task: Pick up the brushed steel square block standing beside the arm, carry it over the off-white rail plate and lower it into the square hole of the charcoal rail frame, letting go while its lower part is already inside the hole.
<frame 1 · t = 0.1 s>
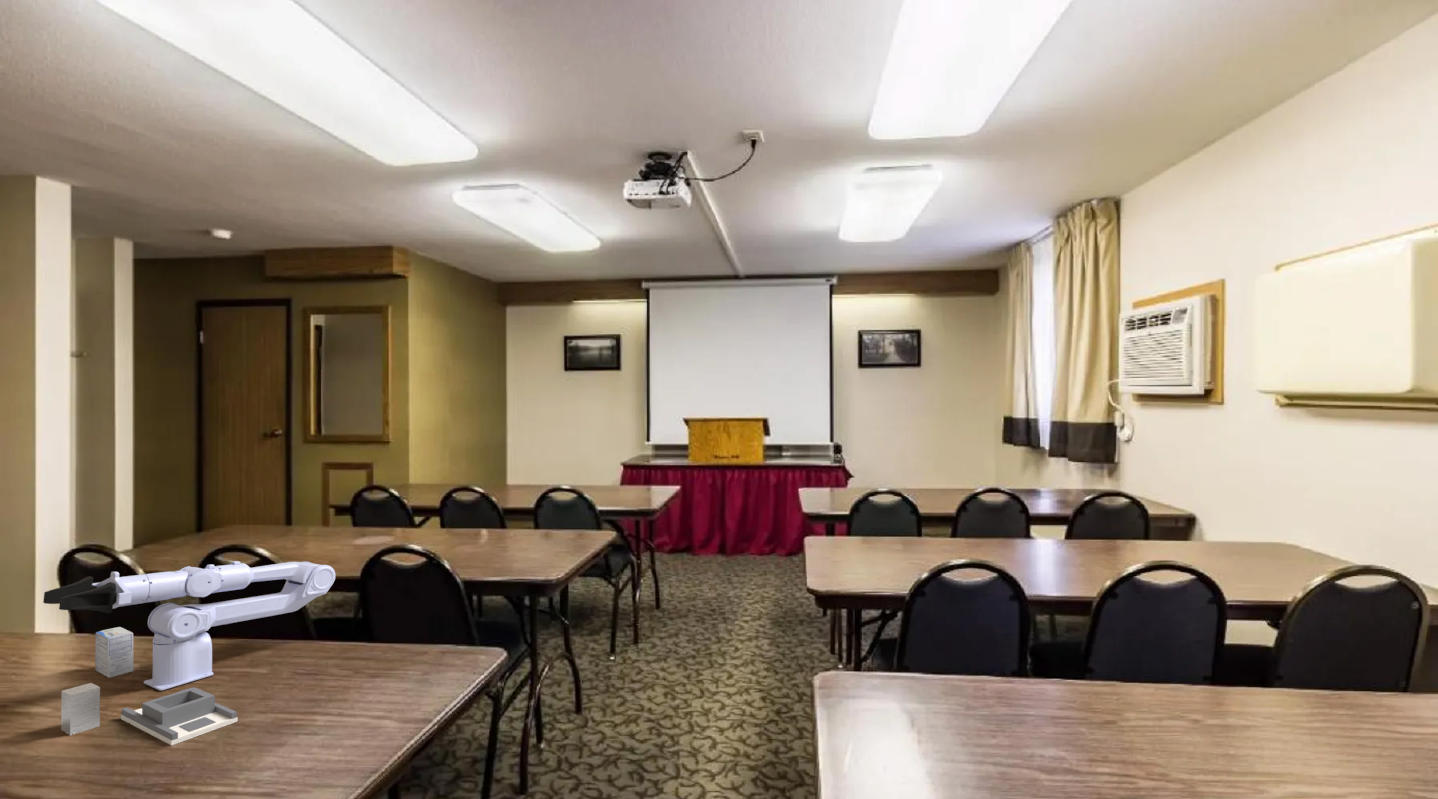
hand: (52, 600, 124), 22 cm above the table, tool horizontal, fingers open, 7 cm apart
medicine box: (114, 672, 146), on the table
steel square block: (80, 728, 120), on the table
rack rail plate: (178, 720, 123), on the table
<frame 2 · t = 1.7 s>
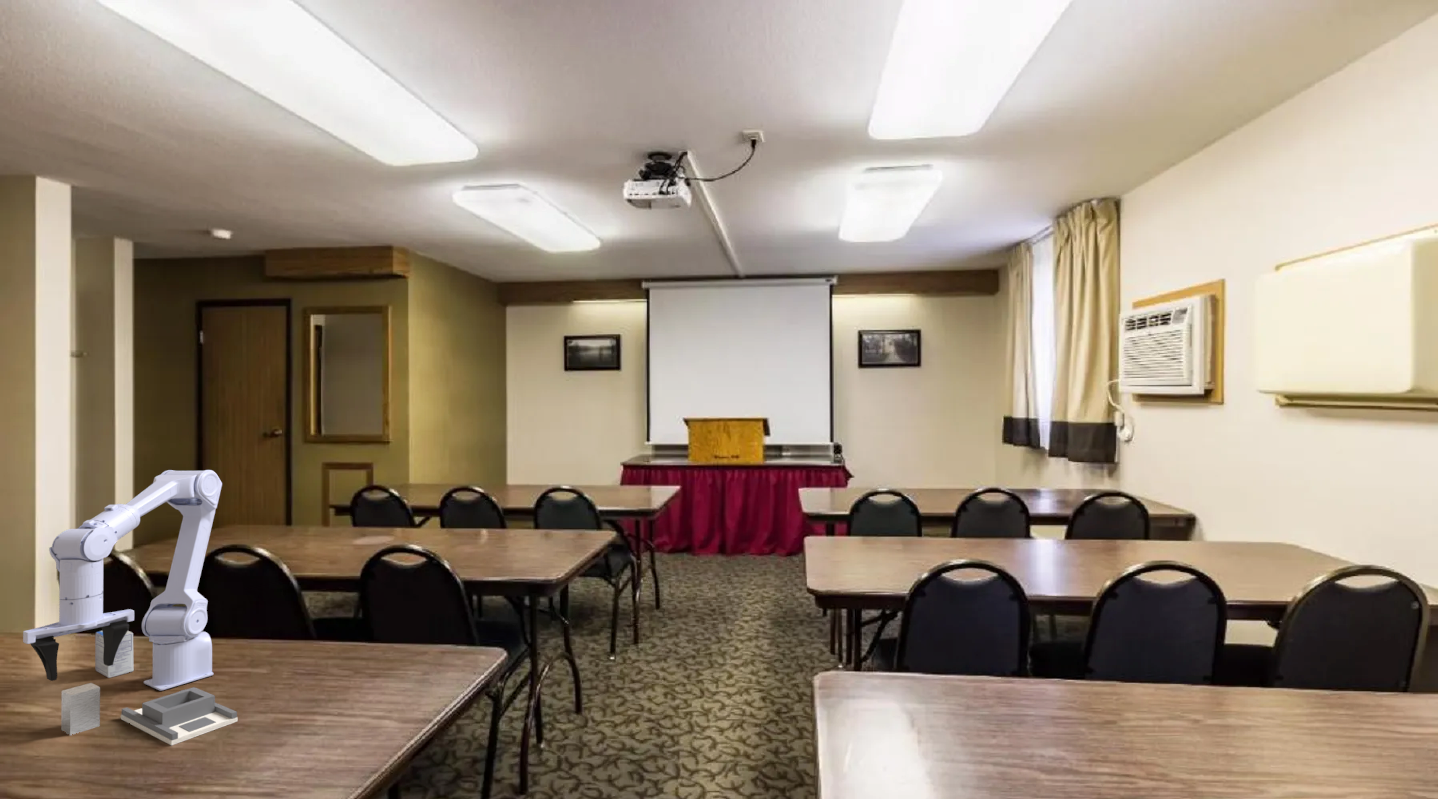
hand: (80, 671, 120), 10 cm above the table, tool pointing down, fingers open, 7 cm apart
nothing on the table moved.
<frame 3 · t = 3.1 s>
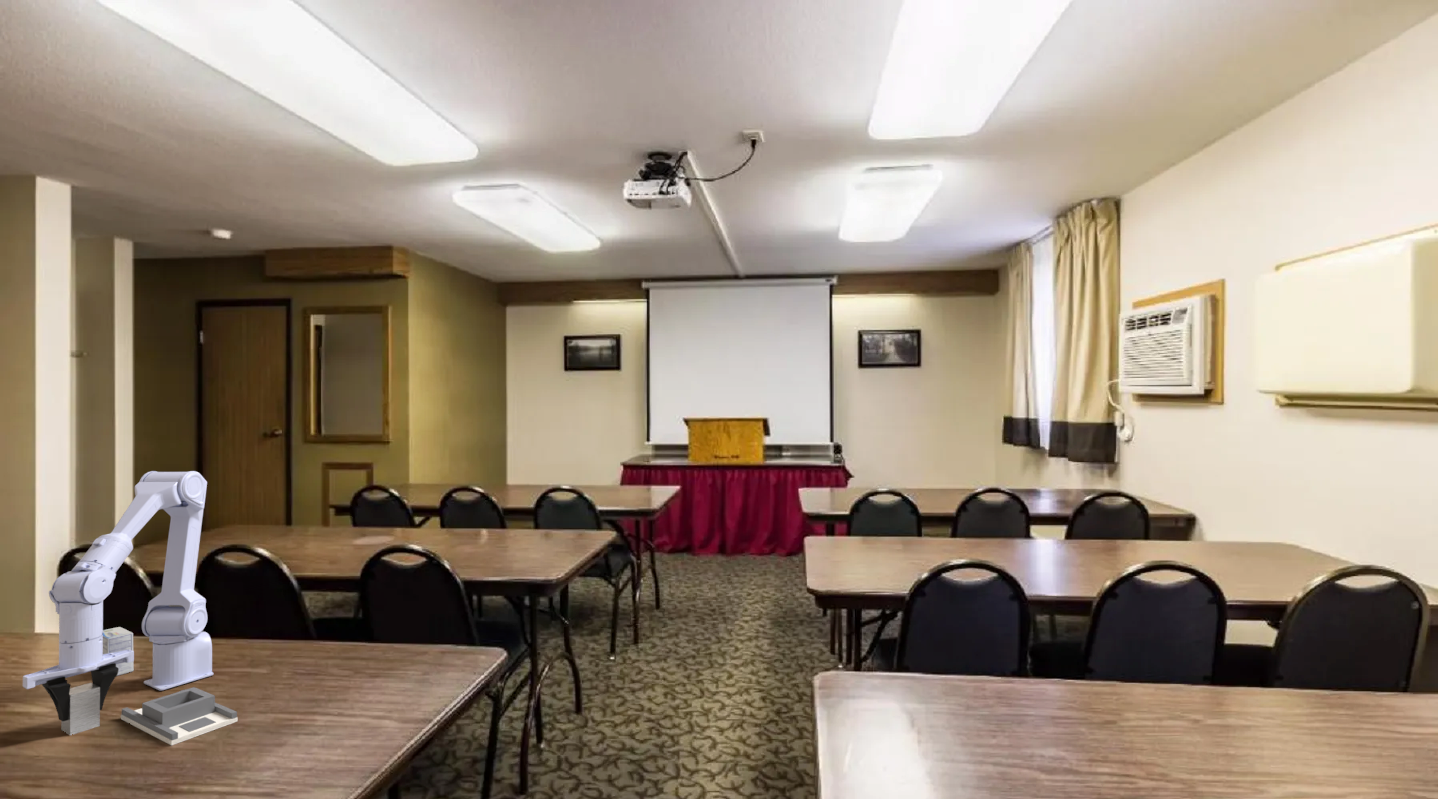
hand: (80, 714, 120), 2 cm above the table, tool pointing down, fingers closed on steel square block, 4 cm apart
steel square block: (80, 728, 120), on the table, touching gripper
everything else where it was.
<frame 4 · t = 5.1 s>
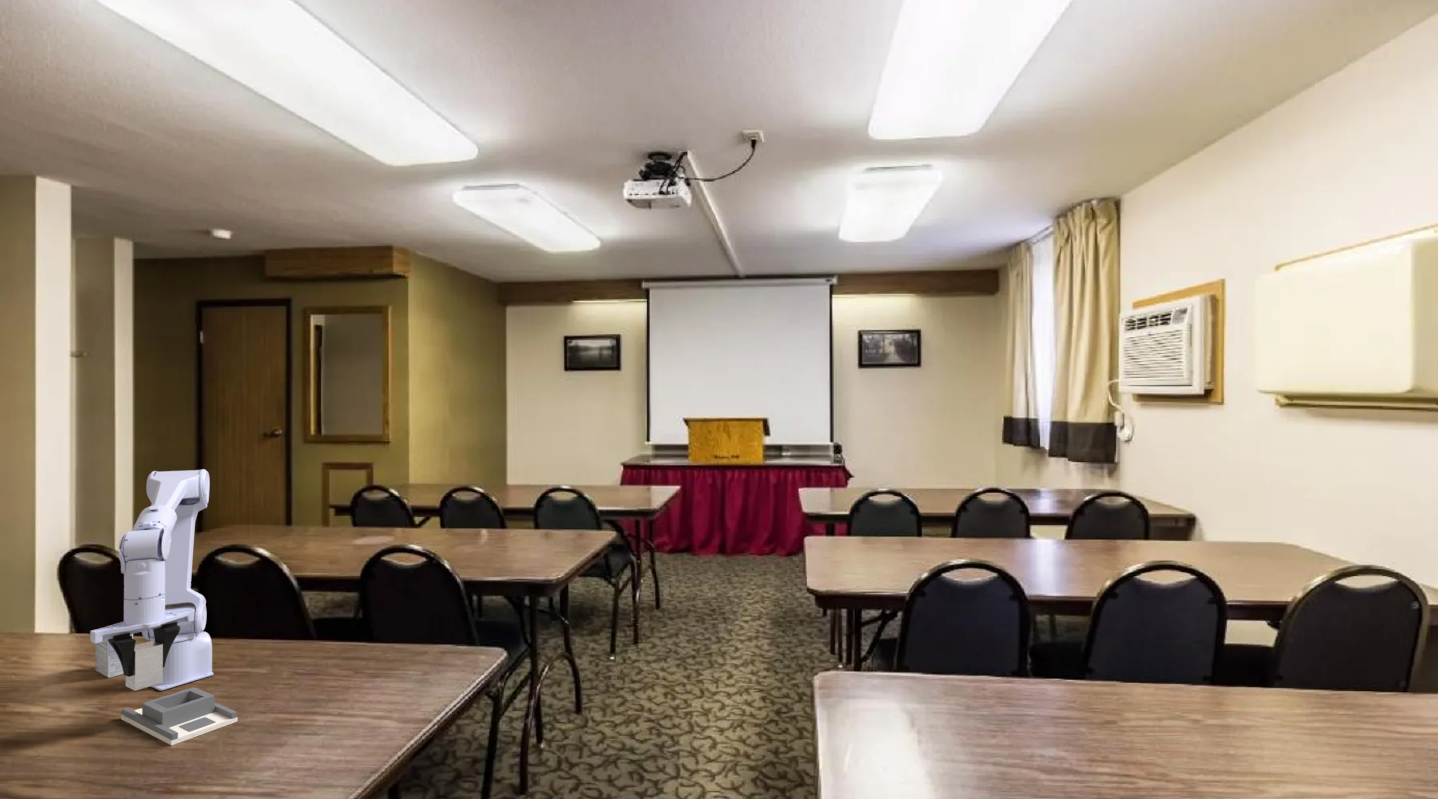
hand: (144, 670, 122), 9 cm above the table, tool pointing down, fingers closed on steel square block, 4 cm apart
steel square block: (144, 684, 122), point 7 cm above the table, touching gripper
everything else where it was.
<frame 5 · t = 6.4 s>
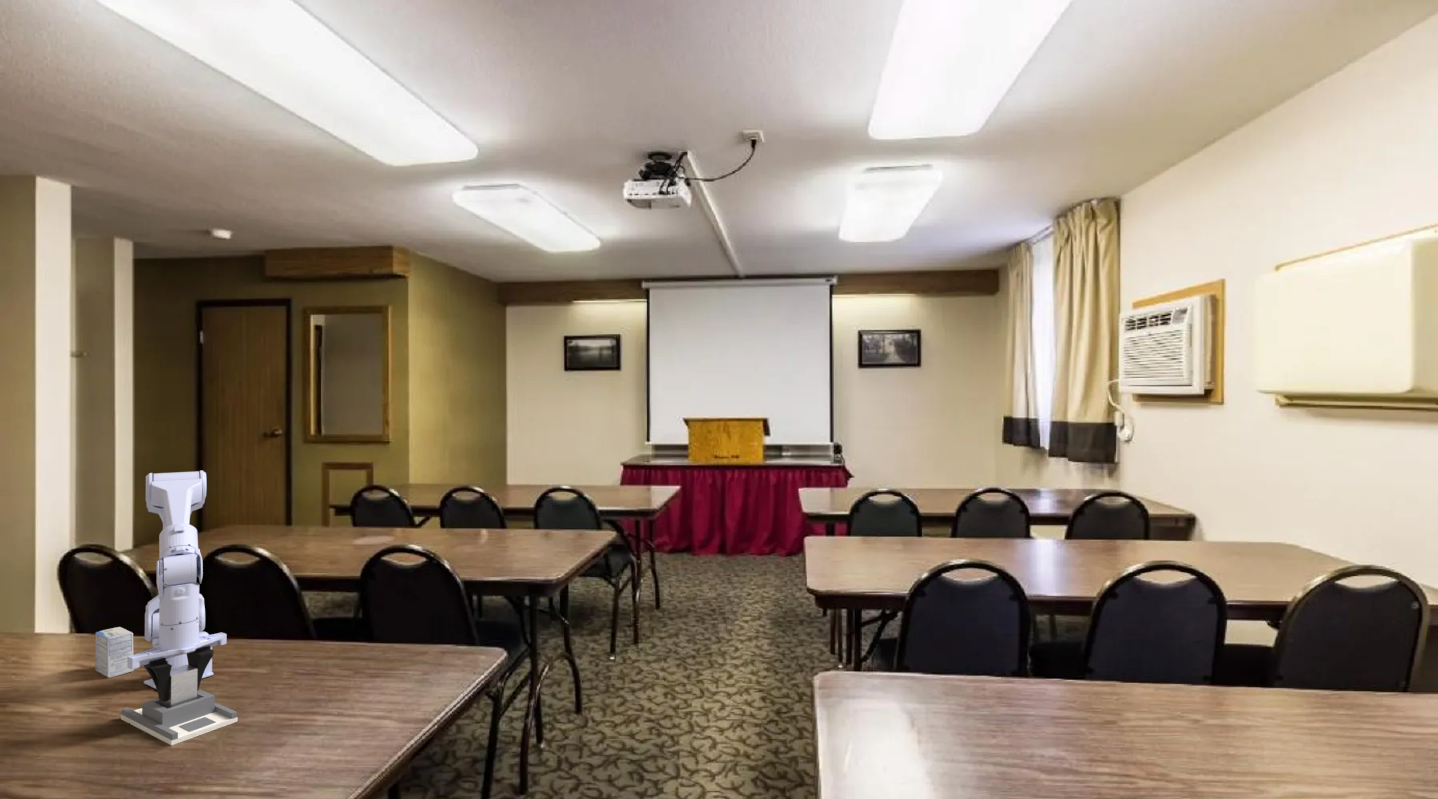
hand: (179, 695, 123), 5 cm above the table, tool pointing down, fingers closed on steel square block, 4 cm apart
steel square block: (179, 708, 123), point 2 cm above the table, touching gripper
everything else where it was.
when the fingers open (4 cm above the table, at t = 7.2 s): steel square block drops 1 cm, resting on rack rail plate.
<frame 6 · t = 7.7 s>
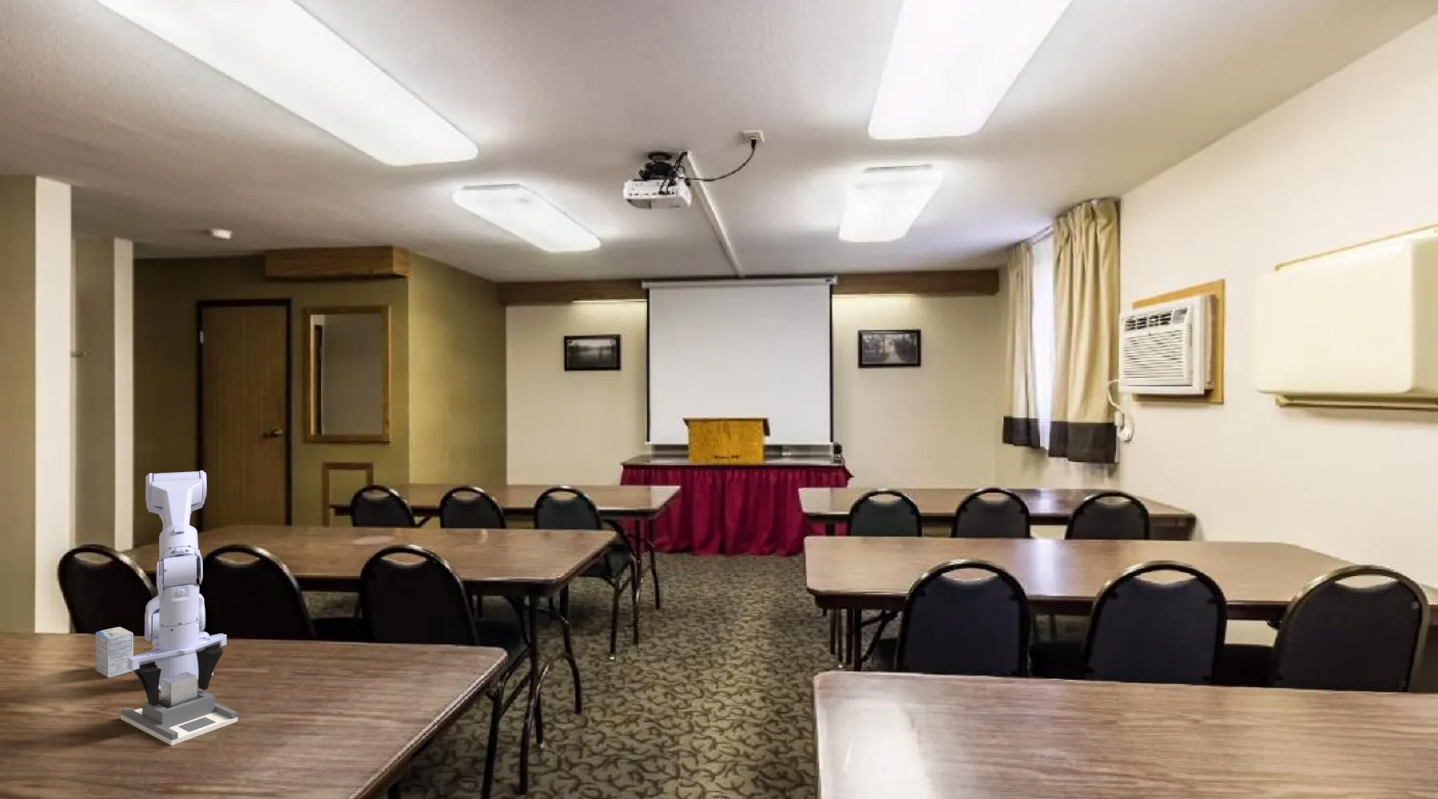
hand: (179, 696, 123), 4 cm above the table, tool pointing down, fingers open, 7 cm apart
steel square block: (179, 715, 123), point 1 cm above the table, touching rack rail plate
everything else where it was.
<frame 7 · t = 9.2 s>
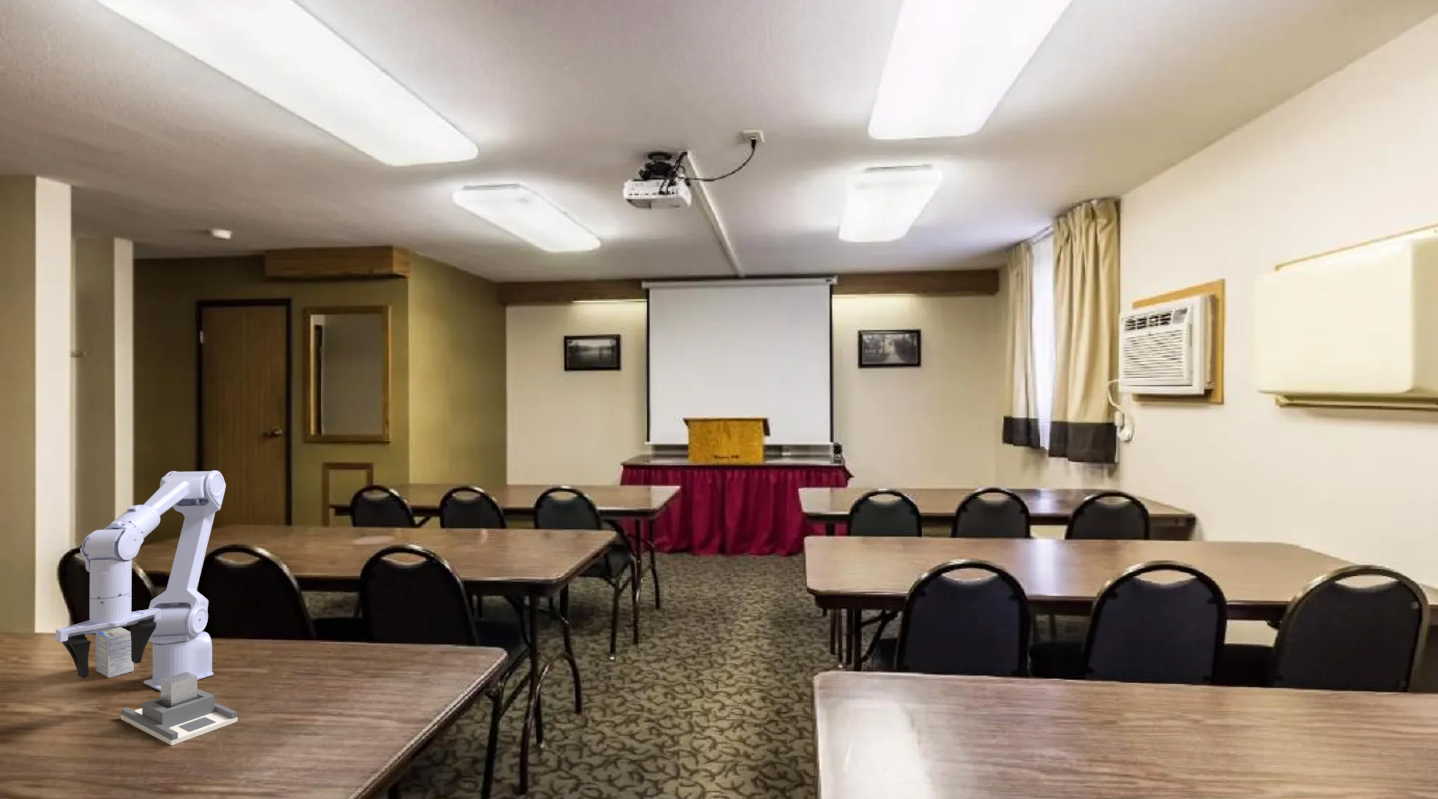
hand: (110, 669, 123), 9 cm above the table, tool pointing down, fingers open, 7 cm apart
nothing on the table moved.
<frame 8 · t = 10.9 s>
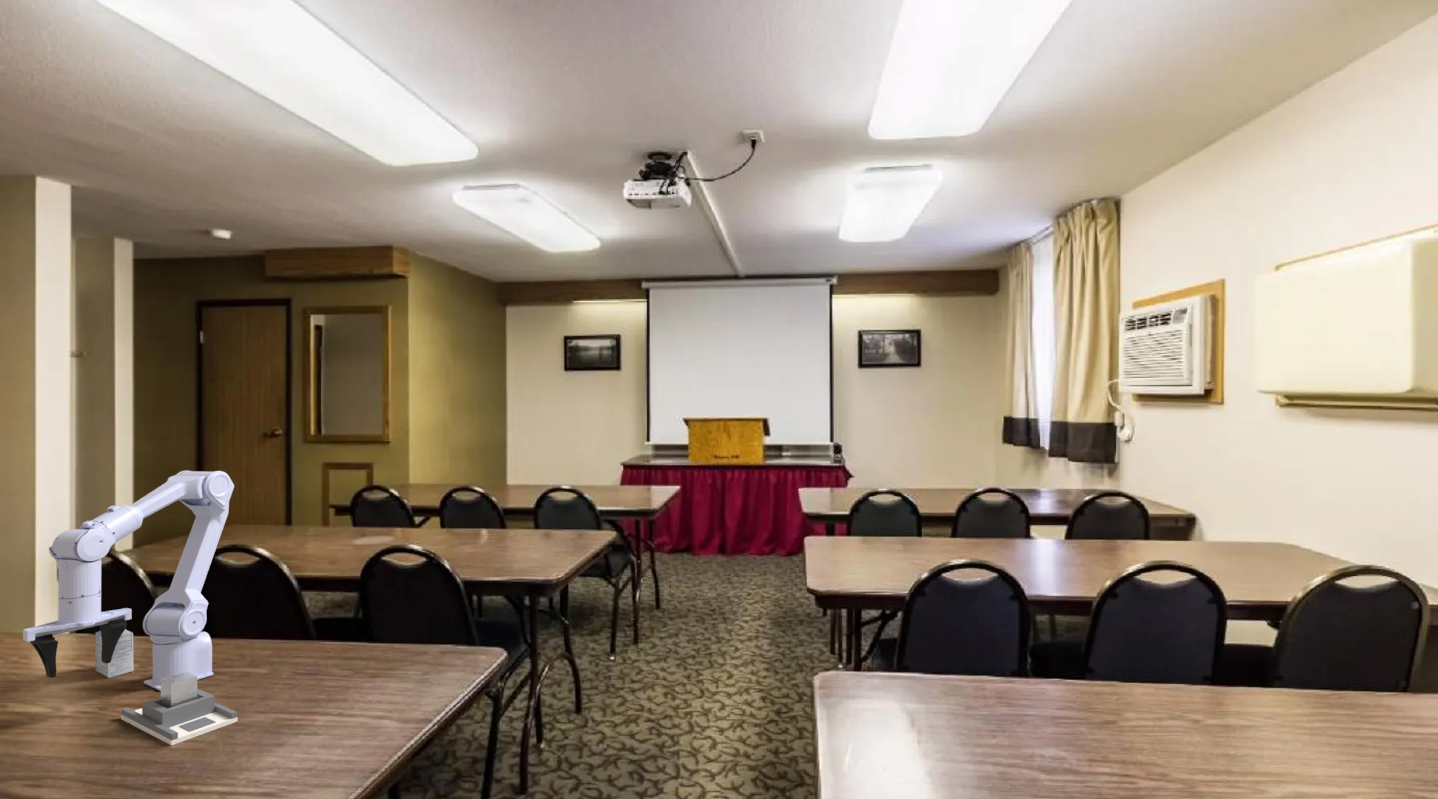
hand: (79, 669, 123), 9 cm above the table, tool pointing down, fingers open, 7 cm apart
nothing on the table moved.
at the end: steel square block 0.0 cm off-centre on the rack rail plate, point 0.8 cm above the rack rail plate's base; steel square block tilted 0°; the gripper is holding nothing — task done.
